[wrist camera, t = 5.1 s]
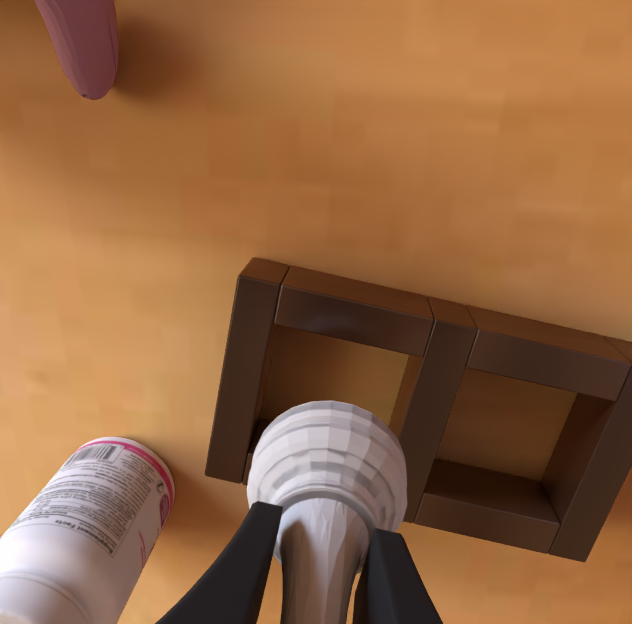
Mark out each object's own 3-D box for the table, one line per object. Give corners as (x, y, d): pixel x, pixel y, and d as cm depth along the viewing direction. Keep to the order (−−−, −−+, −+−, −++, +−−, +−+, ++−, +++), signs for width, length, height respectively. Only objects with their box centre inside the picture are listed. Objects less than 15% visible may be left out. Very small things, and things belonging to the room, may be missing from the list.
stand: (639, 343, 20) (677, 373, 17) (562, 517, 22) (585, 563, 20) (252, 256, 20) (237, 274, 17) (220, 439, 22) (203, 476, 20)
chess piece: (399, 532, 17) (444, 1067, 7) (255, 520, 17) (118, 1017, 8) (411, 403, 15) (488, 859, 6) (254, 392, 16) (84, 810, 6)
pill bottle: (154, 544, 25) (54, 747, 17) (54, 498, 24) (-97, 684, 16) (195, 464, 23) (107, 646, 15) (89, 414, 23) (-58, 574, 15)
